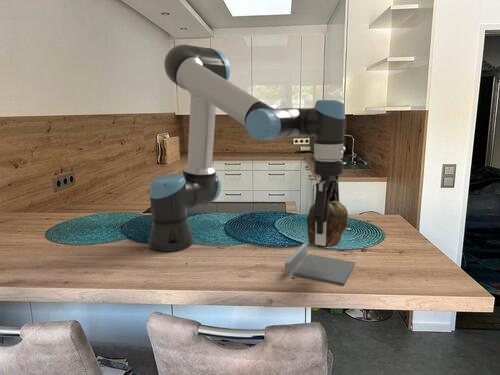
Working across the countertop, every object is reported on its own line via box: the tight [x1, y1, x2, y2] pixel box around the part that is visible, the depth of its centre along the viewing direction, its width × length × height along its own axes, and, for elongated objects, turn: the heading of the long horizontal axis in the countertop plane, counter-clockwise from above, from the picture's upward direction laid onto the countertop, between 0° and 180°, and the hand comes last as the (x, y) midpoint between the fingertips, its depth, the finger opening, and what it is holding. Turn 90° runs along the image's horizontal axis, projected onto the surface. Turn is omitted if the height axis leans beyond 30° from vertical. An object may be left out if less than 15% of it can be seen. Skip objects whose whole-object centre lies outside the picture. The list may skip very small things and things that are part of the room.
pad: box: [292, 253, 356, 286], centre depth 102 cm, size 14×14×1 cm
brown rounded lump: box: [306, 200, 349, 249], centre depth 99 cm, size 11×11×12 cm
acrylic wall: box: [284, 242, 309, 276], centre depth 105 cm, size 1×16×4 cm, turn 153°
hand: (326, 237), depth 100 cm, fingers closed on brown rounded lump, 11 cm apart
